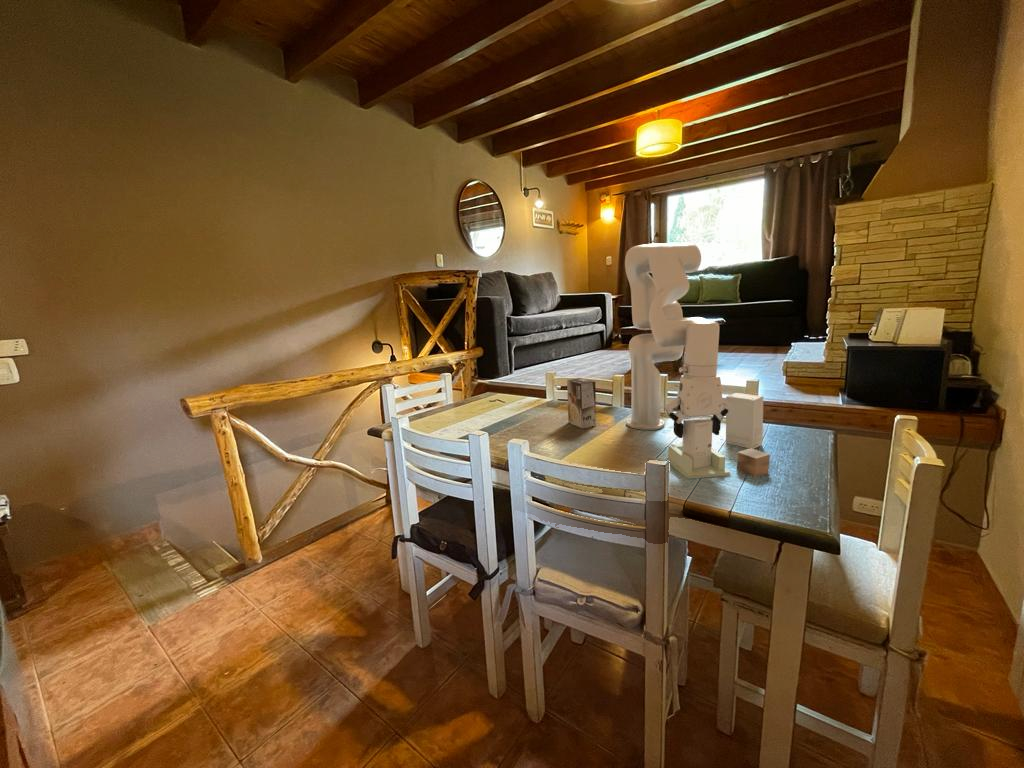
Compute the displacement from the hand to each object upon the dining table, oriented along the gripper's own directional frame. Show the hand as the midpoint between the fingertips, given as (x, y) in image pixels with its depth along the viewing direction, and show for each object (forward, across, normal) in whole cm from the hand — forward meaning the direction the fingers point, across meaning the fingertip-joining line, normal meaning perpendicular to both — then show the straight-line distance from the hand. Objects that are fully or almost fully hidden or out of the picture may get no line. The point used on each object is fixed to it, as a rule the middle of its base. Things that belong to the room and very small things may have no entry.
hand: (696, 434), depth 109 cm
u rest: (+9, 0, -1) cm, 9 cm away
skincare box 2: (+9, +21, +12) cm, 26 cm away
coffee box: (+10, -20, +42) cm, 48 cm away
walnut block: (+9, +12, -6) cm, 16 cm away
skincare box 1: (+8, 0, -1) cm, 8 cm away
